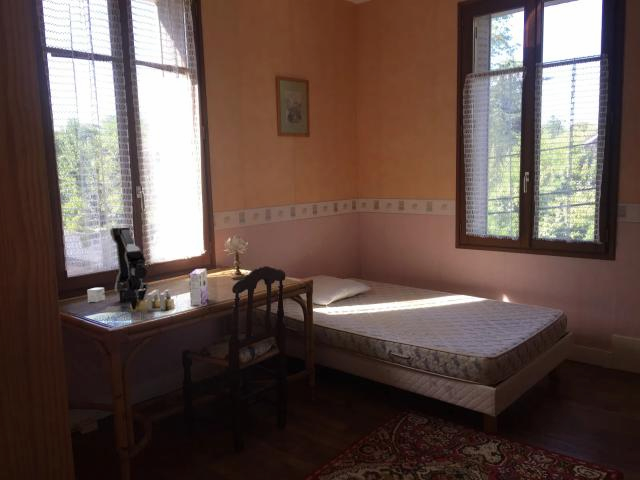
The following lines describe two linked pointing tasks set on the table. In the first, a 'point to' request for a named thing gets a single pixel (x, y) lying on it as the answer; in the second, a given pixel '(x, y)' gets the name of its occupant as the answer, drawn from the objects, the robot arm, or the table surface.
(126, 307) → the grey slotted rack
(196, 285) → the candy box
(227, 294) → the table surface
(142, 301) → the brass tube
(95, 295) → the skincare box
